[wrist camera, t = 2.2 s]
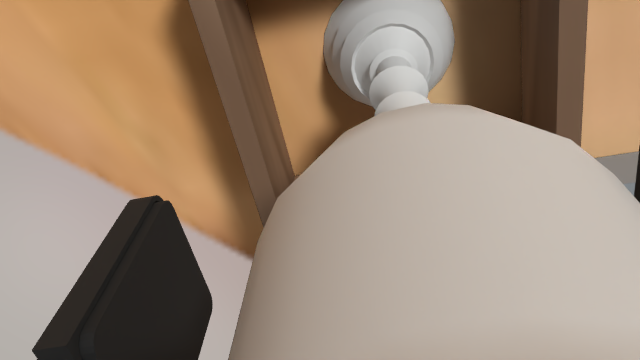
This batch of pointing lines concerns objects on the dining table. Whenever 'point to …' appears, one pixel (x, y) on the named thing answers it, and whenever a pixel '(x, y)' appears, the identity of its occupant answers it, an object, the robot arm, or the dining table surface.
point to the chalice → (439, 224)
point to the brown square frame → (261, 116)
